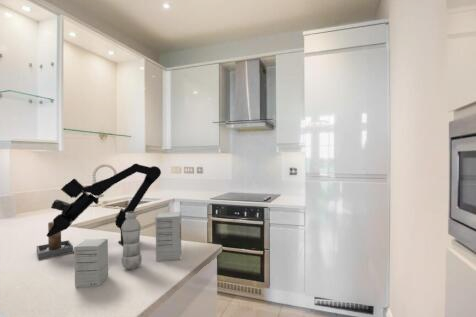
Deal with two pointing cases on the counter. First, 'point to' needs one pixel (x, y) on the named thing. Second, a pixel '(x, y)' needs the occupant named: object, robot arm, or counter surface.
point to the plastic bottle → (131, 241)
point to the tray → (56, 252)
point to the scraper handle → (54, 239)
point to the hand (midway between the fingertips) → (50, 233)
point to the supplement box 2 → (168, 236)
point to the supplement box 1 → (91, 262)
